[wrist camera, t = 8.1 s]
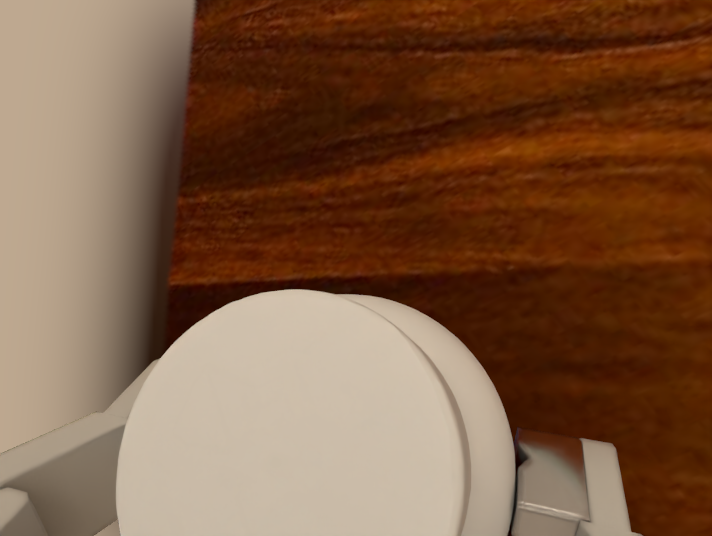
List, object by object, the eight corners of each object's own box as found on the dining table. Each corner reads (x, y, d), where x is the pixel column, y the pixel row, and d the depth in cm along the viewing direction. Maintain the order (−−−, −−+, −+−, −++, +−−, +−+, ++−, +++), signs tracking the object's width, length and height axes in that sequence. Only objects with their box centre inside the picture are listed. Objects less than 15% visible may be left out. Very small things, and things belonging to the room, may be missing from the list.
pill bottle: (536, 506, 14) (668, 665, 5) (349, 589, 14) (120, 894, 5) (441, 318, 16) (398, 162, 6) (278, 396, 16) (17, 352, 7)
